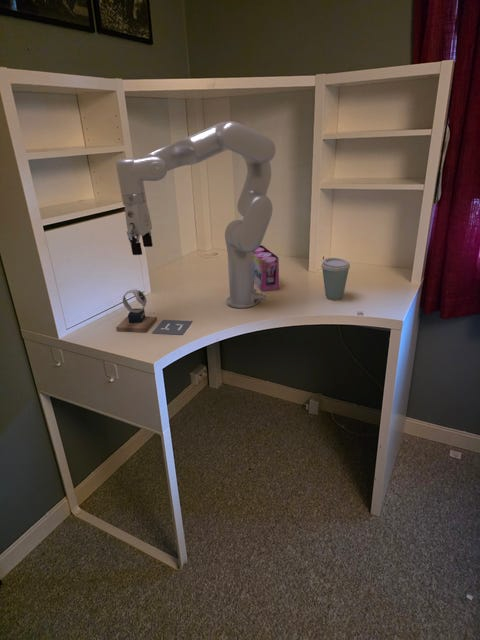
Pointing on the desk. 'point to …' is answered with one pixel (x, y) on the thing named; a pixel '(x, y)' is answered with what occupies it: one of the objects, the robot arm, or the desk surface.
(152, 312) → the desk surface
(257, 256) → the gum box
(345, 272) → the disposable coffee cup
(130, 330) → the walnut board
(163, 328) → the mat
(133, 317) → the watch
